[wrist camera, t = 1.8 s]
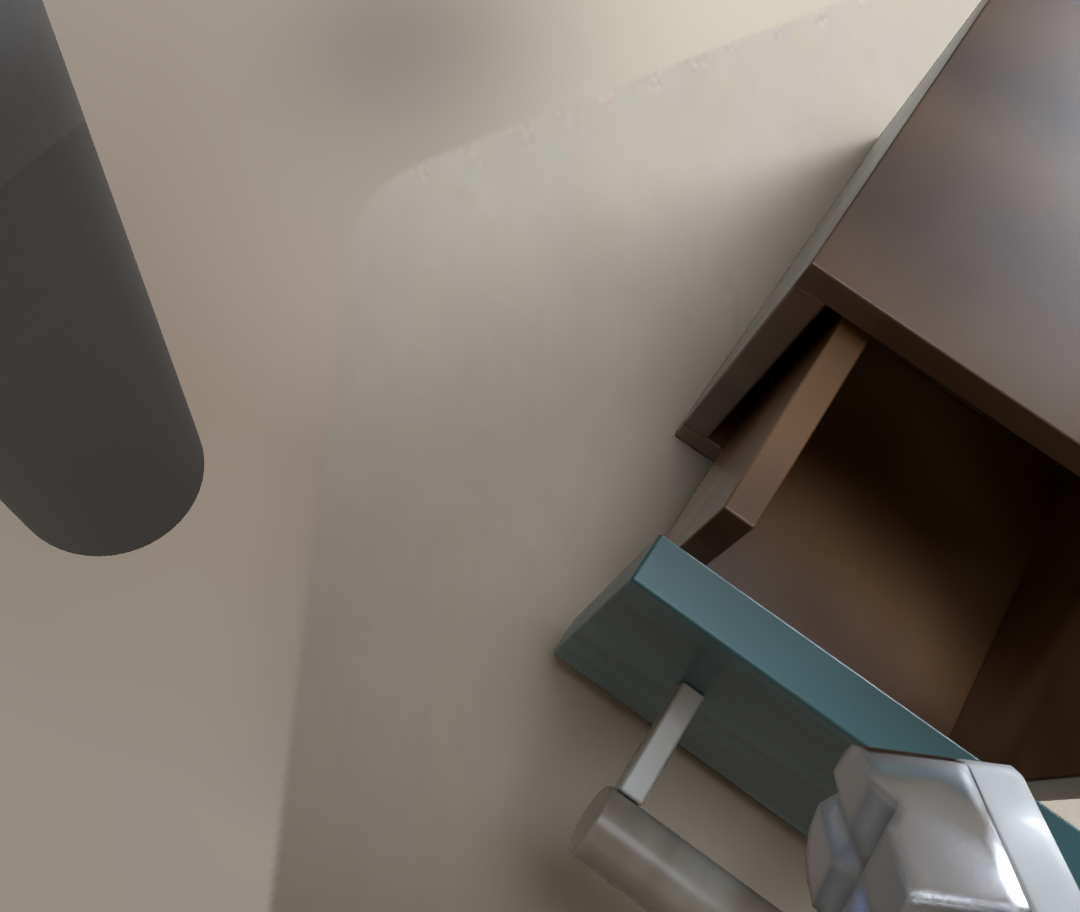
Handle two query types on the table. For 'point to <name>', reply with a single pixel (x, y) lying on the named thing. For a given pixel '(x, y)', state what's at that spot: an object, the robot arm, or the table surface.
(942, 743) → the drawer
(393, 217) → the table surface
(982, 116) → the cabinet
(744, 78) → the table surface
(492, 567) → the table surface
